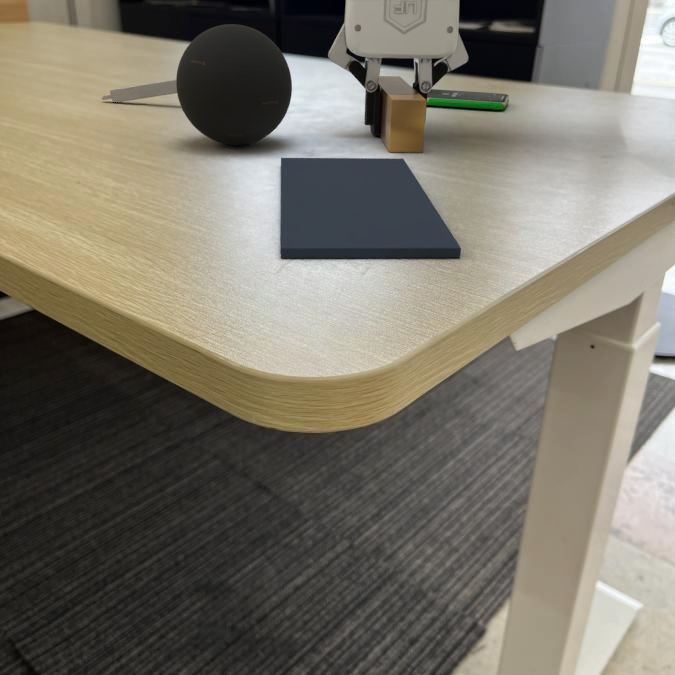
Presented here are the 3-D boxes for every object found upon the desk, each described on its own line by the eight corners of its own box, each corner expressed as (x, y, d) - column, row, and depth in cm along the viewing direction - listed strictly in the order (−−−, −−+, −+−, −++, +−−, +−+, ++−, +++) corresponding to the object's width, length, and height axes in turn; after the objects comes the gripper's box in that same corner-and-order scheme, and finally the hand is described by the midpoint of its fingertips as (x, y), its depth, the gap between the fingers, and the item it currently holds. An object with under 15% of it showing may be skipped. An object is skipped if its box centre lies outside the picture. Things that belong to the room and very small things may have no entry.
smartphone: (505, 102, 86) (378, 94, 90) (504, 111, 86) (378, 102, 90) (510, 93, 92) (392, 86, 96) (509, 101, 93) (391, 93, 97)
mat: (403, 165, 61) (403, 158, 61) (460, 258, 42) (461, 247, 41) (281, 165, 61) (281, 157, 60) (280, 258, 41) (280, 248, 41)
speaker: (292, 133, 72) (292, 21, 68) (291, 157, 63) (290, 29, 59) (188, 132, 72) (181, 19, 67) (172, 155, 63) (162, 27, 58)
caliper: (271, 112, 83) (270, 52, 80) (267, 113, 82) (266, 53, 79) (106, 100, 88) (99, 43, 85) (101, 102, 87) (94, 44, 84)
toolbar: (397, 120, 80) (400, 76, 78) (422, 152, 66) (426, 99, 64) (370, 119, 80) (371, 75, 78) (389, 152, 66) (391, 99, 64)
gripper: (313, -88, 61) (311, 140, 69) (509, -82, 62) (485, 142, 70) (310, -82, 68) (309, 125, 76) (487, -77, 69) (467, 127, 77)
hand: (394, 131), depth 73 cm, fingers closed on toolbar, 3 cm apart
